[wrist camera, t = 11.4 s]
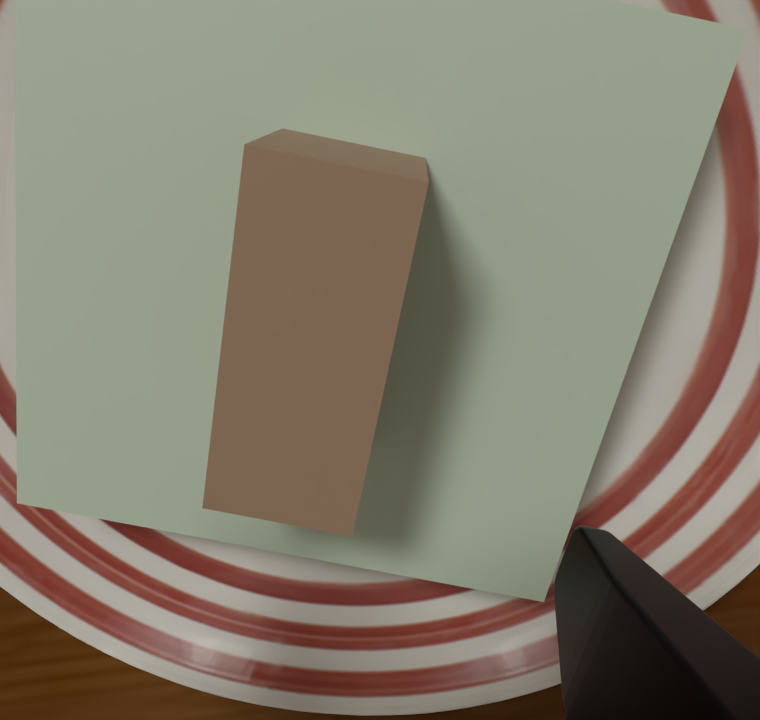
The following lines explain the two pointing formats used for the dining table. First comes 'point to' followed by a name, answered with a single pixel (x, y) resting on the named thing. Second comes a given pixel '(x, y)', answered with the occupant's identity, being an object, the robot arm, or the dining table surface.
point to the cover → (345, 264)
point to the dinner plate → (417, 596)
